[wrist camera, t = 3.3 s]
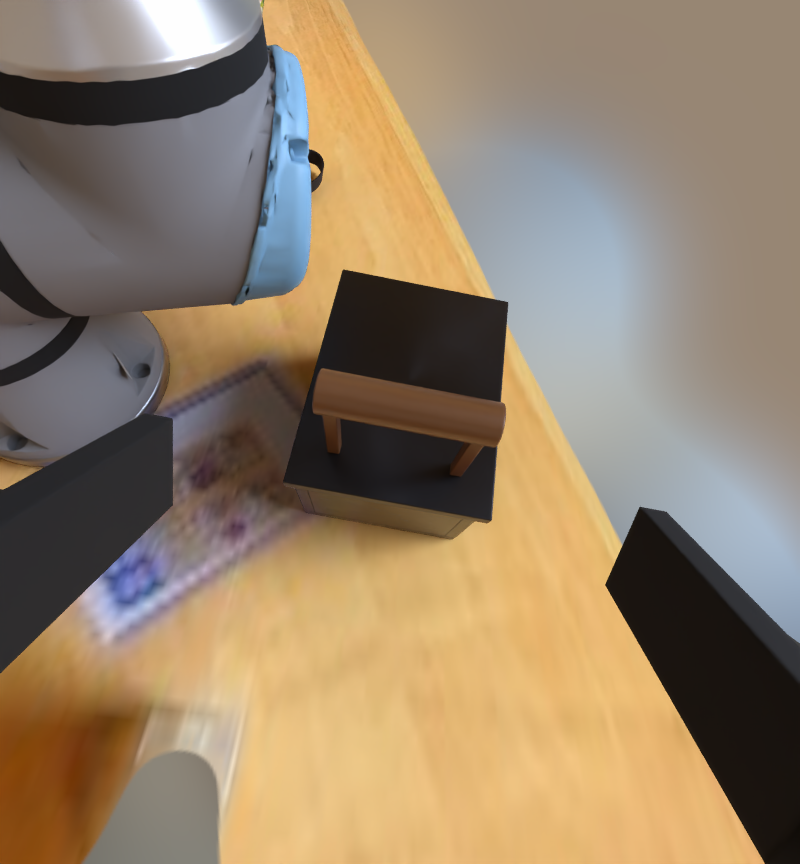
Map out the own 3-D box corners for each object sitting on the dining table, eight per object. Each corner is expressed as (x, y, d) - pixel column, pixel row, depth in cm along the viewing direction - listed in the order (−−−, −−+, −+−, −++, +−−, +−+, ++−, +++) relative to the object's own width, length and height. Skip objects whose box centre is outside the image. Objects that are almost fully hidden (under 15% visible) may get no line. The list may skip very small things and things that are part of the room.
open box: (453, 539, 34) (488, 510, 25) (305, 512, 34) (288, 473, 25) (470, 379, 40) (504, 309, 31) (345, 355, 40) (343, 277, 31)
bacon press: (488, 523, 25) (547, 480, 17) (284, 486, 25) (254, 425, 17) (504, 309, 31) (554, 208, 24) (343, 277, 31) (339, 164, 23)
